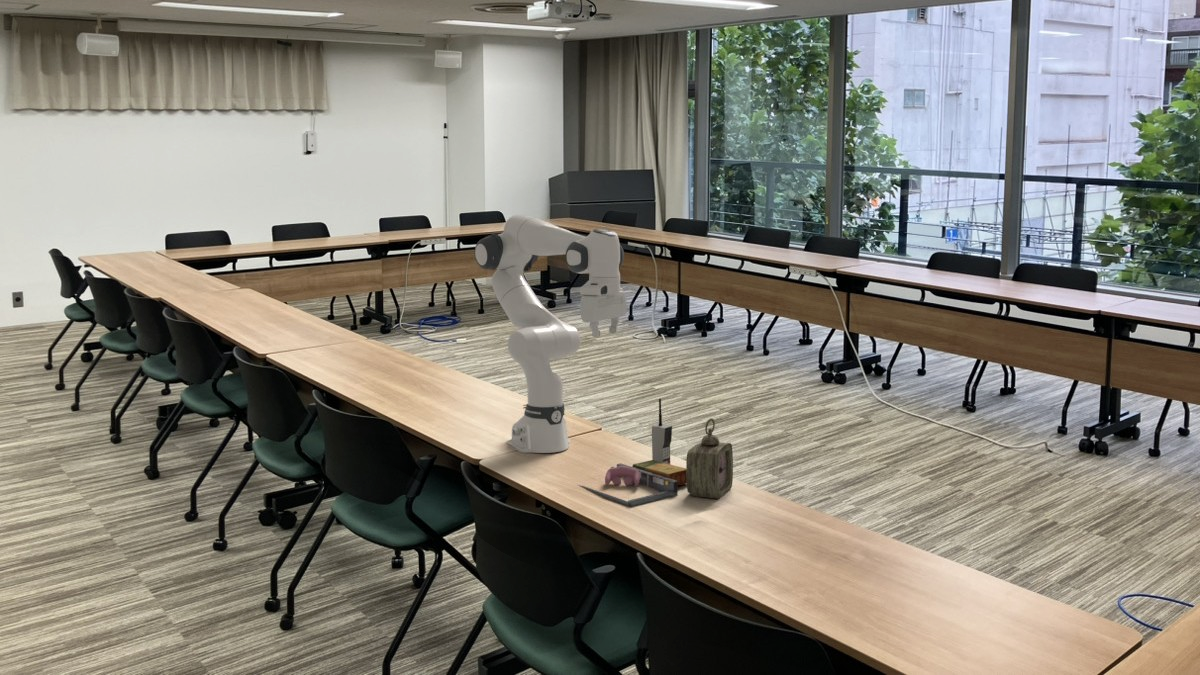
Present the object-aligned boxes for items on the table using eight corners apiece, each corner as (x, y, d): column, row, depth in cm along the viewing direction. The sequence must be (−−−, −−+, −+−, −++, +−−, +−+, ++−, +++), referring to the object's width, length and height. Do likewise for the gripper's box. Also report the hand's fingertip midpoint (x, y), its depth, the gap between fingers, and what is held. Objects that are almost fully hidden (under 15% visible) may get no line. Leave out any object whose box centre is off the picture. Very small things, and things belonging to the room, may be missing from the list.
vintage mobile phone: (665, 482, 307) (664, 400, 303) (652, 479, 310) (651, 398, 306) (673, 479, 310) (671, 398, 306) (660, 477, 313) (658, 396, 309)
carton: (668, 488, 288) (668, 473, 288) (631, 477, 301) (631, 463, 300) (690, 483, 294) (690, 468, 293) (652, 472, 306) (652, 458, 305)
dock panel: (574, 486, 292) (574, 473, 292) (620, 476, 303) (620, 463, 302) (630, 506, 273) (630, 492, 273) (677, 495, 284) (677, 481, 283)
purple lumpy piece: (639, 492, 290) (640, 470, 295) (638, 483, 287) (640, 462, 291) (604, 491, 291) (606, 469, 296) (603, 482, 288) (605, 461, 292)
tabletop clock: (716, 515, 279) (715, 425, 275) (685, 511, 283) (684, 423, 279) (733, 500, 292) (732, 414, 288) (703, 497, 296) (702, 412, 292)
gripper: (613, 283, 302) (613, 330, 303) (576, 288, 284) (576, 338, 286) (632, 284, 298) (632, 331, 300) (595, 289, 281) (596, 339, 283)
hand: (604, 334), depth 293 cm, fingers open, 8 cm apart
